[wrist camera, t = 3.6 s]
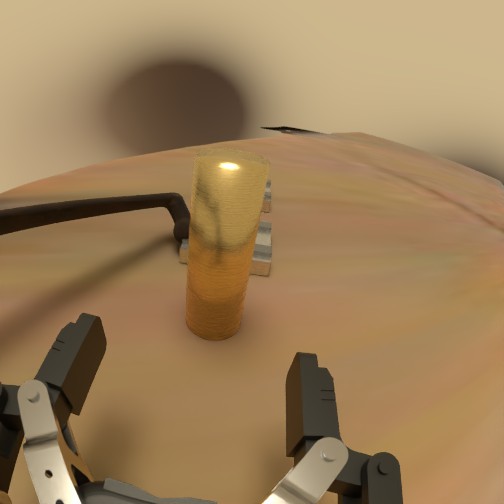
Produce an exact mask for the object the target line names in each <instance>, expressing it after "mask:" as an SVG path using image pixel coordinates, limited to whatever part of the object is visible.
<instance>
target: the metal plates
mask: <svg viewBox="0 0 504 504" xmlns="http://www.w3.org/2000/svg"><path fill="white" fill-rule="evenodd" d="M270 184H271V180H267V184H266V189H265V194H264V200H263V205H262V210H261V211H263V212H268V211H269V206H270V198H271V192H270ZM188 246H189V239H182V245H181V247H180V260H179V262H181V263H187V264H188ZM271 254H272V246H271V222H266V221H259V226H258V231H257V237H256V242H255V247H254V253H253V258H252V263H251V268H250V274H257V275H263V276H268V273H269V268H270V264H271Z"/></svg>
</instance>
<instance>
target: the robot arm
mask: <svg viewBox="0 0 504 504" xmlns="http://www.w3.org/2000/svg"><path fill="white" fill-rule="evenodd" d="M105 351H106V337H105V333H104V330H103V326H102V322H101V319H100V317H98V316H94V315H90V314H86V313H82V314H81V315H80V316H79V318H78V320H77V322H76V323H72V322H70V323H69V324H68V325H66V326H65V327H64V328H63V329H62V330H61V331H60V333H59V335H58V336H57V338H56V341H55V342H54V343H53V345H52V348H51V349H50V351H49V352H48V354H47V356H46V358H45V360H44V362H43V363H42V365H41V367H40V369H39V371H38V373H37V375H36V376H35V378H34V379H33V380H28V381H26V382H24V383H23V384H22V385H21V386H15V385H3V384H2V383H1V382H0V504H12V502H11V499H10V497H9V496H8V495H7V494H8V490H9V486H10V482H11V478H12V474H13V471H14V467H15V463H16V460H17V457H18V453H19V450H20V447H21V444H22V441H23V438H24V435H25V437H26V443H24V445H23V451H24V455H25V459H26V462H27V466H28V469H29V472H30V476H31V479H32V482H33V485H34V488H35V491H36V494H37V497H38V499H39V502H40V504H217V502H216V501H209V500H202V499H195V498H189V497H188V498H158V497H155V496H153V495H151V494H149V493H147V492H145V491H143V490H141V489H139V488H137V487H135V486H133V485H131V484H128V483H124V482H121V481H118V480H114V479H111V478H108V477H106V479H105V481H94V480H93V478H92V476H91V473H90V471H89V469H88V468H87V466H86V464H85V463H84V461H83V459H82V457H81V454H80V452H79V449H78V446H77V444H76V441H75V438H74V435H73V432H72V429H71V426H70V423H69V420H68V419H69V416H70V414H71V413H73V414H75V415H78V416H79V415H80V412H81V409H82V407H83V404H84V402H85V399H86V397H87V394H88V392H89V389H90V387H91V384H92V382H93V380H94V377H95V375H96V372H97V370H98V368H99V365H100V363H101V361H102V358H103V356H104V354H105ZM335 400H336V398H335V393H334V383H333V378H332V376H331V375H330V373H329V371H328V369H327V368H320V367H318V361H317V355H316V354H312V353H301V352H297V353H296V355H295V358H294V360H293V362H292V365H291V367H290V369H289V371H288V374H287V378H286V457H294V466H293V467H292V468H291V469H290V470H289V472H288V473H287V474H286V475H285V476H284V477H283V478H282V479H281V480H280V482H279V483H278V484H277V485H276V486H275V487H274V488H273V489H272V490H271V491H270V492H269V493H268V494H267V495H266V496H265V497H264V498H263V499H262V500H261V501H260V502H259V503H258V504H316V503H317V502H318V500H319V499H320V498H321V497H322V495H323V494H324V493H325V491H330V492H333V493H337V494H338V504H403V497H402V485H401V474H400V465H399V462H398V460H397V459H396V458H395V457H394V456H393V455H392V454H390V453H386V452H380V453H377V454H375V455H374V456H370V455H367V454H363V453H359V452H356V451H353V450H351V449H349V448H348V447H347V446H346V445H345V444H344V443H343V441H342V440H341V437H340V432H339V423H338V415H337V406H336V402H335Z"/></svg>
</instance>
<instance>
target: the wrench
mask: <svg viewBox="0 0 504 504" xmlns="http://www.w3.org/2000/svg"><path fill="white" fill-rule="evenodd" d="M155 207H165V208H167V209H168V211H169V212H170V214H171V216H172V218H173V220H174V223H175V226H174V230H173V233H174V236H175V238H176V240H177V241H178V242H180V243H182V239H189V228H190V212H189V210H188V208H187V206H186V204H185V202H184V200H183V197H182V196H181V195H180V194H178V193H161V194H150V195H136V196H122V197H109V198H96V199H86V200H75V201H65V202H58V203H48V204H40V205H33V206H26V207H19V208H13V209H5V210H0V235H3V234H8V233H12V232H16V231H20V230H25V229H29V228H34V227H39V226H44V225H48V224H53V223H59V222H64V221H70V220H76V219H82V218H88V217H94V216H100V215H106V214H112V213H119V212H126V211H133V210H140V209H147V208H155Z"/></svg>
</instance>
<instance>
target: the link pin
mask: <svg viewBox="0 0 504 504" xmlns="http://www.w3.org/2000/svg"><path fill="white" fill-rule="evenodd" d="M269 168H270V163H269V161H268V160H267V159H265V158H263V157H262V156H259V155H257V154H254V153H251V152H247V151H243V150H237V149H228V148H212V149H205V150H201V151H199V152H197V153H196V154H195V162H194V173H193V185H192V198H191V212H190V228H189V246H188V267H187V298H186V323H187V325H188V327H189V329H190V330H191V331H192V332H193V333H194V334H196V335H197V336H199V337H201V338H204V339H208V340H222V339H226V338H229V337H231V336H232V335H234V334H235V333H236V332H237V330H238V329H239V326H240V321H241V316H242V311H243V305H244V300H245V295H246V290H247V284H248V279H249V274H250V268H251V263H252V258H253V253H254V247H255V242H256V237H257V231H258V226H259V221H260V215H261V210H262V205H263V200H264V194H265V189H266V184H267V178H268V173H269Z"/></svg>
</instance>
